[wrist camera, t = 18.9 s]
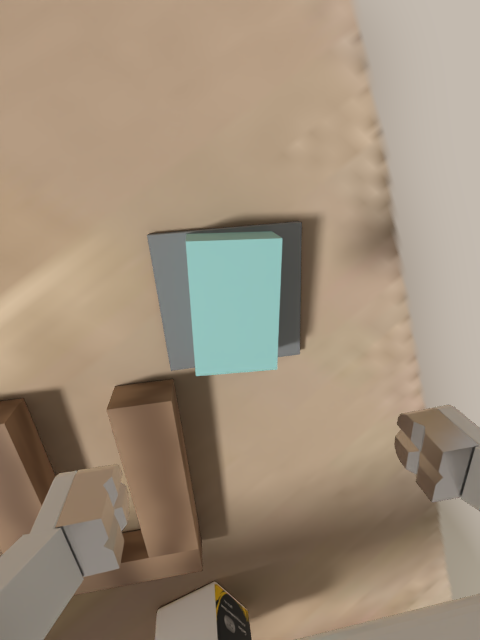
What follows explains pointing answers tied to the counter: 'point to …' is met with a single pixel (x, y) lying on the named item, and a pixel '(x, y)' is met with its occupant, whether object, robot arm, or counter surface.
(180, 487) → the channel board
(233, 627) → the white black angular body
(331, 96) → the counter surface
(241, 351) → the block
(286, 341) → the slate mat
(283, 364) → the counter surface
